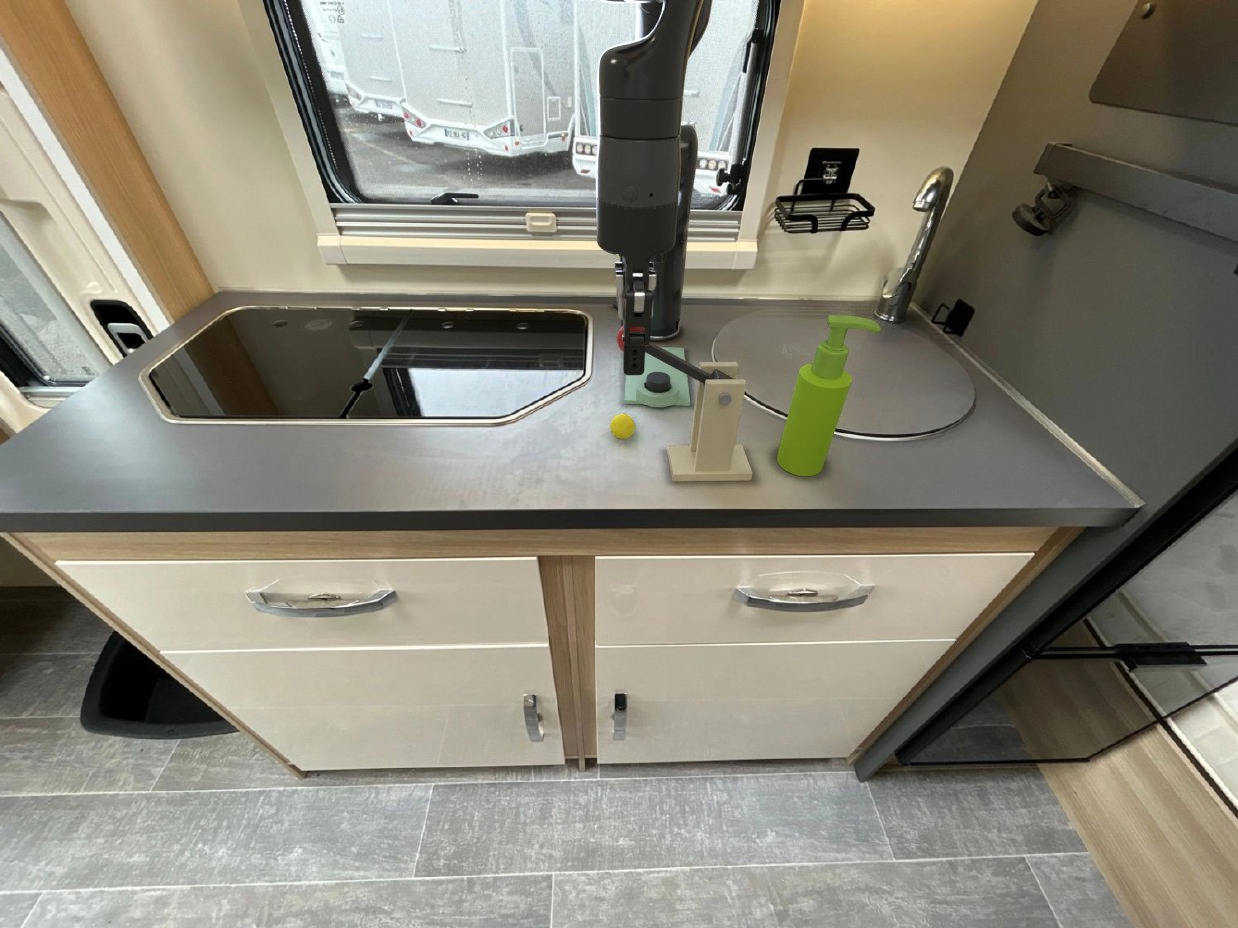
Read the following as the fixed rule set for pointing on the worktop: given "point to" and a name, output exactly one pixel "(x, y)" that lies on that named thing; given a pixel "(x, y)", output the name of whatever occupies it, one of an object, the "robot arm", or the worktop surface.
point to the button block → (673, 396)
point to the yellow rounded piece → (622, 426)
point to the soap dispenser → (819, 400)
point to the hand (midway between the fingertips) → (632, 360)
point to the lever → (675, 360)
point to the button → (658, 382)
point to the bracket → (713, 431)
